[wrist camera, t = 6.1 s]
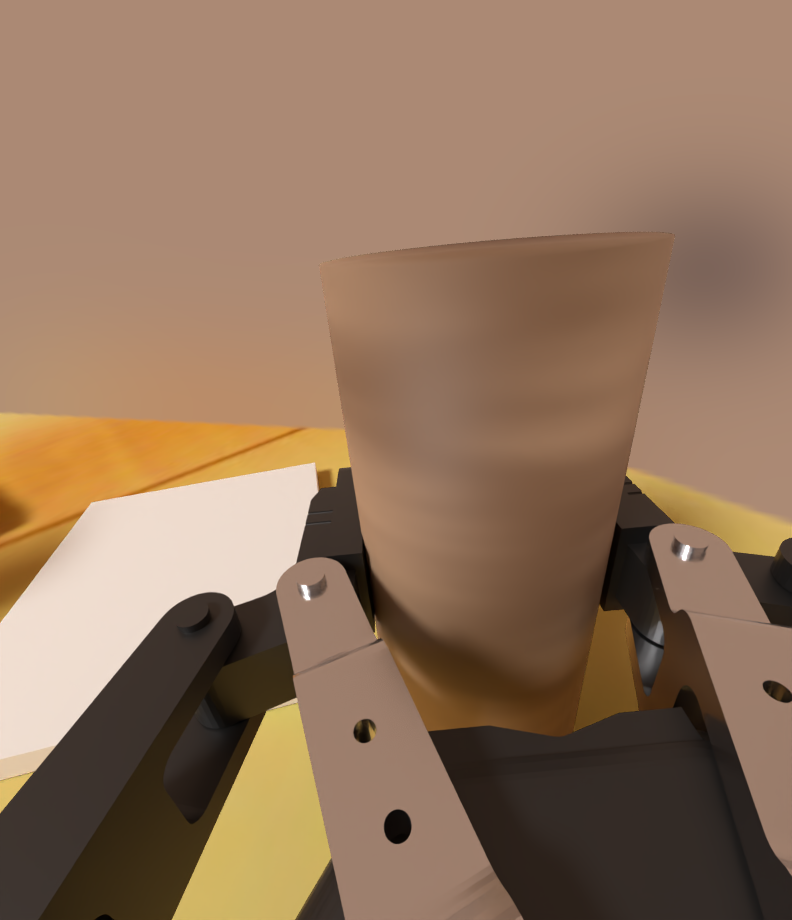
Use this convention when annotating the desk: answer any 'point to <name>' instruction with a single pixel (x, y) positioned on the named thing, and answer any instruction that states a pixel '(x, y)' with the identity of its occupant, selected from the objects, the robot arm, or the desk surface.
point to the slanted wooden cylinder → (493, 456)
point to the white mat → (135, 591)
